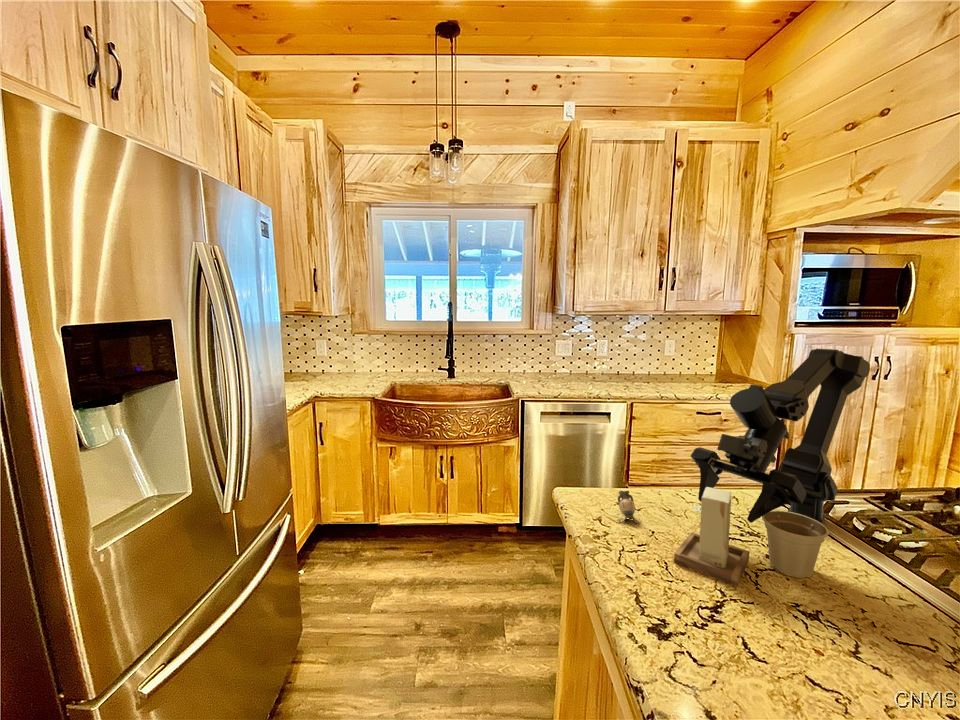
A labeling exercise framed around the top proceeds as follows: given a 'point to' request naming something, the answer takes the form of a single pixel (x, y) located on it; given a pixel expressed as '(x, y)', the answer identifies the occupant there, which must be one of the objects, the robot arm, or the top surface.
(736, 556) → the walnut tray
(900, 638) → the top surface
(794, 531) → the flower pot
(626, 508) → the vase
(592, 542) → the top surface
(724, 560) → the skincare box
